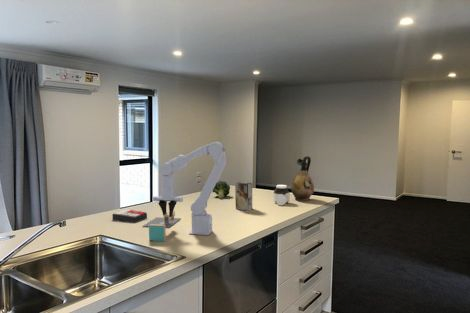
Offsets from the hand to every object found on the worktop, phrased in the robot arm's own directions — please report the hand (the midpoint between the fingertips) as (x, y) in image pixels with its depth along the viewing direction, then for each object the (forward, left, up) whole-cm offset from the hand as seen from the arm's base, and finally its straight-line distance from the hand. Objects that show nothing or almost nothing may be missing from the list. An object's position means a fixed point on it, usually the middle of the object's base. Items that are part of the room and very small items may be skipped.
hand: (167, 216), depth 174 cm
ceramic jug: (-64, -91, -8) cm, 111 cm away
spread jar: (-50, -75, -8) cm, 90 cm away
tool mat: (+9, -16, -8) cm, 20 cm away
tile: (0, +13, -8) cm, 15 cm away
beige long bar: (0, 0, -3) cm, 3 cm away
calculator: (+30, -21, -8) cm, 38 cm away
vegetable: (-6, -92, -8) cm, 93 cm away
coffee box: (-28, -56, -8) cm, 63 cm away
